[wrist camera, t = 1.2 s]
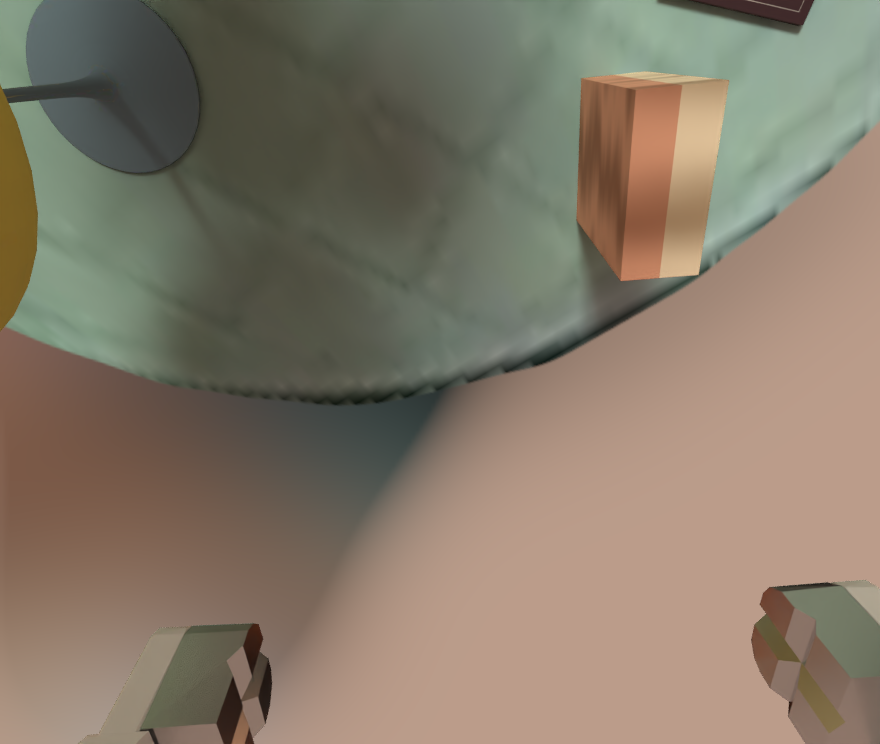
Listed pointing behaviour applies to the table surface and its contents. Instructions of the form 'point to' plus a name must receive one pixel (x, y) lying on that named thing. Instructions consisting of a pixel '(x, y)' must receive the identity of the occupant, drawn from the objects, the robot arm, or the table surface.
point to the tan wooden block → (648, 169)
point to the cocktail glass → (92, 109)
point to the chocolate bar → (767, 8)
